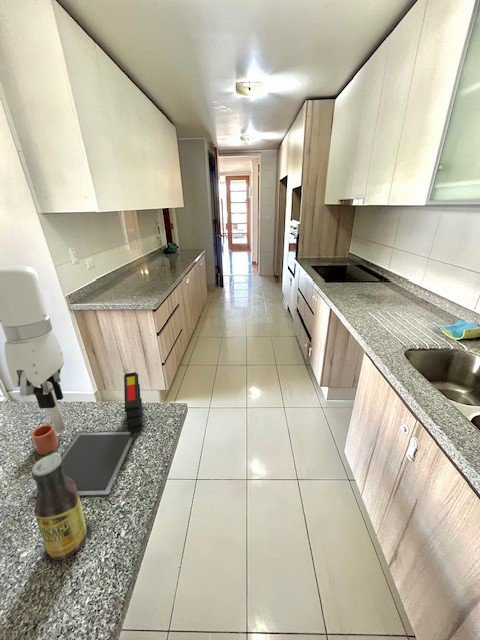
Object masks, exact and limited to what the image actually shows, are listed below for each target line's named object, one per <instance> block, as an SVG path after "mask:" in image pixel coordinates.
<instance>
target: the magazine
mask: <svg viewBox="0 0 480 640" xmlns="http://www.w3.org/2000/svg"><path fill="white" fill-rule="evenodd" d="M123 389H124V390H123V391H124V392H123V393H124V396H123V397H124V412H125V413H126V421H127V422H128V423H127V424H128V426H127V429H128V430H130V431H129V432H140V431H142V429H143V426H144V422H143V419H144V418H143V399H142V397H141V385H140V383H139V373H137V372H135V371H134V372H128V373H127V372H126V373H125V374H124V375H123Z"/></svg>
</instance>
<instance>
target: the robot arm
mask: <svg viewBox="0 0 480 640" xmlns="http://www.w3.org/2000/svg"><path fill="white" fill-rule="evenodd" d="M38 275H39V274H38V273H37V271H36V270H35V268H33V267H31V266H28V265H6V266H0V325H1V328H2V331H3V333H4V337H5V339H6V341H5V342H4V357H5V362H6V367H7V370H8V374H9V377H10V381H11V383H12V385H13V387H14V388H19V396H21V397H30V396H35V398H36V402H37V404H38V407H39V409H48V408H54V407H55V406H56V404H55V401H54V397H53V394H52V392H49V389H48V386H47V383H46V382H51V383H52V385H53V388H54V392H55V395H56V398H57V401H61V400H63V399H64V394H63V391H62V388H61V384H60V383H61V370H62V368H63V367H64V364H65V357H64V354H63V350H62V346H61V344H60V342H59V339H58V337H57V334H56V333H55V330H54V329H53V326H52V321H51V319H50V315H49V312H48V308H47V304H46V300H45V297H44V293H43V290H42V286H41V283H40V279H39V276H38Z"/></svg>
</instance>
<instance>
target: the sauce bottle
mask: <svg viewBox="0 0 480 640" xmlns="http://www.w3.org/2000/svg"><path fill="white" fill-rule="evenodd" d="M31 477H32V480H33V481H35V484H36V489H37V490H38V492H37V497H35V506H34V516H35V520H36V523H37V525H38V528H39V532H40V535H41V537H42V540H43V544H44V548H45V549H46V553H48V555H49V556H50V558H51V559H53V560H56V561H62V560H63V559H66V558H67V559H68V557H71V556H72V555H74V554H75V553H76V552H77V551H78V550H79V549H80V548H81V547H82V546H83V544H84V542H85V540H86V537H87V523H86V519H85V515H84V509H83V506H82V502H81V498H80V496H79V494H78V492H77V488H76V484H75V482H74V481H73V480H72V479H71V478H68V477H66V475H65V474H64V471H63V461H62V458H61V455H59V454H49V455H46V456H44V457H42V458H40V459H39V460H38V461H36V462H35V463H34V464H33V466H32V468H31Z"/></svg>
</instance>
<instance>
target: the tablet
mask: <svg viewBox="0 0 480 640" xmlns="http://www.w3.org/2000/svg"><path fill="white" fill-rule="evenodd" d="M136 435H137V431H135V432H131V431H104V432H103V431H101V432H98V431H97V432H78V433H77V434H76V435H75V437H74V438H73V440H72V441H71V442H70V444H69V445H68V447H67V448H66V449H65V451H64V452H63V453H62V455H60V457H61V458H62V461H63V471H64V474H65V475H66V477H68V478H71V479H72V480H73V481H74V482H75V484H76V488H77V492H78V494H79V497H95V496H97V497H99V496H109V495H110V493H111V491H112V489H113V486H114V484H115V482H116V480H117V478H118V475H119V472H120V471H121V468H122V466H123V464H124V462H125V459H126V457H127V455H128V453H129V450H130V449H131V447H132V443H133V441H134V439H135V436H136ZM37 492H38V489H37V490H36V491H35V492H34V494H33V495H32V498H36V497H37Z"/></svg>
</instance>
